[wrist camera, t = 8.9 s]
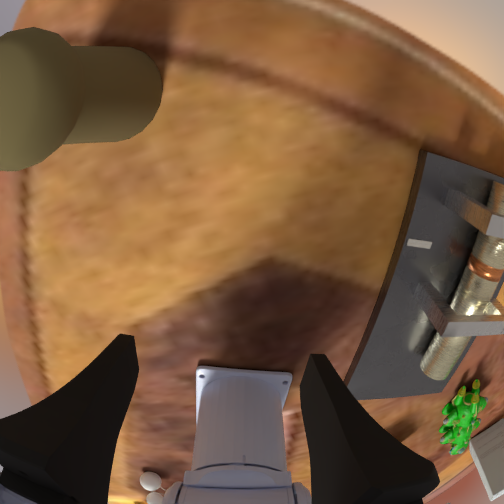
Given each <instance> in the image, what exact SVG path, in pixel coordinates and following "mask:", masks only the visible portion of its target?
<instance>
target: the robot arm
mask: <svg viewBox="0 0 504 504" xmlns="http://www.w3.org/2000/svg"><path fill="white" fill-rule="evenodd" d="M138 373H139V366H138V359H137V353H136V347H135V340H134V336H131V335H125V334H119V335H118V336H117V337H116V338H115V339H114V340H113V341H112V342H111V343H110V344H109V345H108V346H107V347H106V348H105V349H104V350H103V351H102V352H101V353H100V354H99V355H98V356H97V357H96V358H95V359H94V360H93V361H92V362H91V363H90V364H89V365H88V366H87V367H86V368H85V369H84V370H83V371H81V372H80V373H79V374H78V375H77V376H76V377H75V378H73V379H72V380H71V381H70V382H68V383H67V384H66V385H65V386H63V387H62V388H60V389H59V390H58V391H56V392H55V393H53V394H52V395H50V396H49V397H47V398H45V399H44V400H42V401H40V402H39V403H37V404H35V405H33V406H31V407H29V408H27V409H25V410H23V411H21V412H18V413H16V414H13V415H11V416H8V417H5V418H2V419H0V464H1V466H3V471H2V473H1V472H0V504H107V503H108V491H109V483H110V476H111V470H112V464H113V458H114V453H115V448H116V443H117V439H118V436H119V432H120V429H121V426H122V423H123V421H124V418H125V415H126V412H127V410H128V407H129V404H130V401H131V398H132V396H133V393H134V390H135V386H136V382H137V377H138ZM201 374H202V375H201ZM284 381H285V382H284ZM291 382H292V374H291V373H288V372H271V371H256V370H242V369H231V368H220V367H211V366H198V367H197V369H196V425H197V427H196V435H195V443H194V451H193V459H192V468H191V471H185V474H184V482H180V481H177V482H175V483H174V484H173V485H172V486H171V487H169V488H168V489H167V491H166V492H165V494H164V497H163V500H162V504H423V501H422V498H423V497H425V496H426V495H427V494H429V493H430V492H431V491H433V490H434V489H435V488H436V487H437V486H438V484H439V483H440V480H439V477H438V473H437V470H436V468H435V466H434V464H433V462H431V461H429V460H427V459H425V458H424V457H422V456H420V455H418V454H417V453H415V452H413V451H412V450H410V449H409V448H408V447H406V446H405V445H403V444H402V443H400V442H399V441H398V440H397V439H395V438H394V437H393V436H392V435H390V434H389V433H388V432H387V431H386V430H385V429H383V428H382V427H381V426H380V425H379V424H378V423H377V422H376V421H375V420H374V419H373V418H372V417H371V416H370V415H369V414H368V413H367V411H366V410H365V409H364V408H363V407H362V406H361V404H360V403H359V402H358V401H357V400H356V398H355V397H354V396H353V394H352V393H351V392H350V390H349V389H348V388H347V386H346V385H345V384H344V382H343V381H342V379H341V378H340V376H339V375H338V373H337V372H336V370H335V369H334V367H333V366H332V364H331V363H330V361H329V360H328V358H327V356H326V355H325V354H310V357H309V360H308V363H307V366H306V369H305V372H304V375H303V378H302V381H301V384H300V400H301V410H302V416H303V421H304V426H305V432H306V437H307V443H308V448H309V455H310V467H311V493H312V499H311V495H310V492H309V490H308V489H307V488H306V487H304V486H303V485H302V483H300V482H296V483H292V480H291V472H290V471H287V464H286V452H285V440H284V428H283V417H282V409H283V406H284V403H285V400H286V397H287V394H288V391H289V388H290V385H291ZM447 504H450V503H447Z"/></svg>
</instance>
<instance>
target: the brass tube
mask: <svg viewBox="0 0 504 504" xmlns="http://www.w3.org/2000/svg"><path fill="white" fill-rule="evenodd" d="M487 207H488V208H490V209H492V210H493V211H495V212H496V213H499V214H503V215H504V184H502V183H499V182H496V181H493V184H492V188H491V192H490V196H489V199H488V203H487ZM503 271H504V239H503V238H498V237H494V236H489V235H485V234H484V233H483V232H481V231H480V230H479V232H478V235H477V238H476V241H475V243H474V246H473V249H472V251H471V254H470V257H469V259H468V262H467V265H466V267H465V270H464V272H463V275H462V277H461V280H460V282H459V284H458V287H457V289H456V291H455V294H454V296H453V298H452V300H451V303H450V307H451V308H452V309H453V311H454V312H455V313H456V314H457V315H483V314H484V312H485V310H486V308H487V306H488V304H489V302H490V300H491V298H492V296H493V294H494V292H495V289H496V287H497V285H498V283H499V281H500V278H501V276H502V274H503ZM471 337H472V336H463V337H441V336H440V335H439V333H438V332H436V334H435V335H434V337H433V339H432V341H431V343H430V345H429V347H428V349H427V350H426V352H425V354H424V356H423V358H422V359H421V361H420V367H421V370H422V371H423V372H424V374H425V375H427V376H428V377H430V378H432V379H434V380H444V379H446V378H447V376H448V375H449V373H450V372H451V370H452V369H453V367H454V366H455V364H456V362H457V361H458V359H459V357H460V356H461V354H462V352H463V351H464V349H465V347H466V346H467V344H468V342H469V340H470V339H471Z"/></svg>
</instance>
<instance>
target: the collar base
mask: <svg viewBox="0 0 504 504" xmlns="http://www.w3.org/2000/svg"><path fill="white" fill-rule="evenodd" d="M493 181H496V182H499V183H502V184H504V178H503V177H500V176H498V175H495V174H492V173H490V172H487V171H484V170H482V169H479V168H476V167H473V166H471V165H468V164H465V163H462V162H459V161H456V160H453V159H450V158H447V157H444V156H440V155H437V154H434V153H431V152H427V151H424V150H420V152H419V157H418V162H417V166H416V171H415V175H414V179H413V184H412V188H411V192H410V196H409V200H408V204H407V207H406V211H405V215H404V218H403V222H402V225H401V229H400V232H399V236H398V239H397V242H396V246H395V249H394V252H393V255H392V258H391V262H390V265H389V268H388V271H387V274H386V277H385V280H384V282H383V285H382V288H381V291H380V294H379V296H378V299H377V302H376V305H375V307H374V310H373V313H372V315H371V318H370V320H369V323H368V325H367V328H366V330H365V333H364V335H363V338H362V340H361V343H360V345H359V347H358V350H357V352H356V354H355V357H354V359H353V361H352V364H351V366H350V368H349V370H348V373H347V375H346V377H345V379H344V381H343V382H344V384H345V385H346V386H347V388H348V389H349V390H350V392H351V393H352V394H353V396H354V397H355V398H356V400H367V399H383V398H395V397H406V396H415V395H424V394H432V393H439V392H442V390H443V389H444V387H445V386H446V384H447V383H448V382H449V380H450V379H451V377H452V375H453V374H454V372H455V371H456V369H457V368H458V366H459V365H460V363H461V361H462V360H463V358H464V357H465V355H466V353H467V352H468V350H469V348H470V346H471V345H472V343H473V341H474V339H475V338H476V336H482V335H497V334H504V307H503V306H502V304H501V303H500V302H499V301H498V300H497V299H496V297H497V295H498V293H499V291H500V288H501V286H502V284H503V282H504V271H503V274H502V276H501V278H500V281H499V283H498V285H497V287H496V289H495V292H494V294H493V296H492V298H491V300H490V302H489V304H488V306H487V308H486V310H485V312H484V314H483V315H457V314H456V313H455V312H454V311H453V309H452V308H451V307H450V303H451V300H452V298H453V296H454V294H455V291H456V289H457V287H458V284H459V282H460V280H461V277H462V275H463V272H464V270H465V267H466V265H467V262H468V259H469V257H470V254H471V251H472V249H473V246H474V243H475V241H476V238H477V235H478V232H479V230H480V231H481V232H483V233H484V234H485V235H489V236H494V237H498V238H503V239H504V215H503V214H499V213H496V212H495V211H493V210H492V209H490V208H488V207H487V203H488V199H489V196H490V192H491V188H492V184H493ZM436 332H438V333H439V335H440V336H441V337H463V336H472V337H471V339H470V340H469V342H468V344H467V346H466V347H465V349H464V351H463V352H462V354H461V356H460V357H459V359H458V361H457V362H456V364H455V366H454V367H453V369H452V370H451V372H450V373H449V375H448V376H447V378H446V379H444V380H434V379H432V378H430V377H428V376H427V375H425V374H424V372H423V371H422V370H421V367H420V361H421V359H422V358H423V356H424V354H425V352H426V350H427V349H428V347H429V345H430V343H431V341H432V339H433V337H434V335H435V334H436Z"/></svg>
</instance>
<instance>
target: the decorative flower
mask: <svg viewBox="0 0 504 504" xmlns="http://www.w3.org/2000/svg"><path fill="white" fill-rule="evenodd" d="M140 483H141V485H142V486H143V487H144V488H145V489H146V490H149V491H152V493H150V494H148V495H147V498H146V499H147V503H148V504H162V500H163V496H162V495H161V493H157V492H154V490H157V489H158V488H159V487H160V486H161V478H160V477H159V475H158V474H156V473H154V472H144V473H143V474H142V475H141V477H140ZM162 489H163V488H162ZM165 491H166V490H165ZM163 495H164V494H163Z"/></svg>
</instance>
